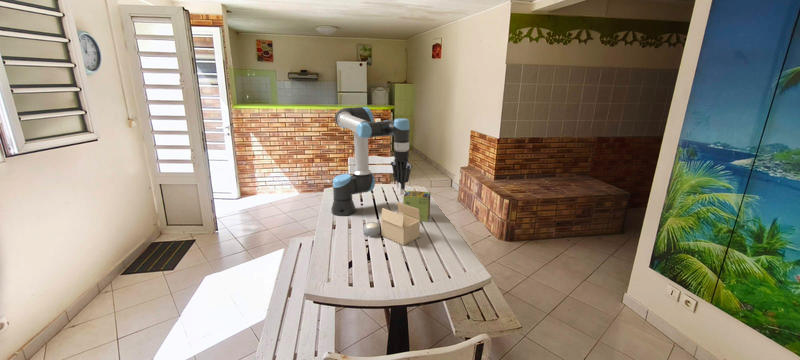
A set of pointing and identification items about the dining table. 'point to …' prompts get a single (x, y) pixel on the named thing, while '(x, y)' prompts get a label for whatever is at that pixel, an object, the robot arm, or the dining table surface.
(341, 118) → the robot arm
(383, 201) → the dining table surface
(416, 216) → the flap far
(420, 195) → the protein box
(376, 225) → the push tap light
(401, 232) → the carton
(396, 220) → the flap near
